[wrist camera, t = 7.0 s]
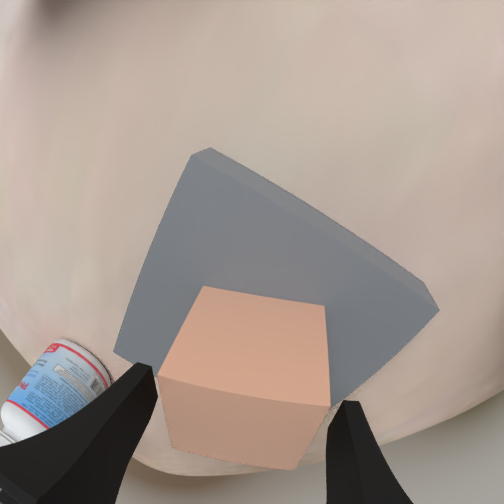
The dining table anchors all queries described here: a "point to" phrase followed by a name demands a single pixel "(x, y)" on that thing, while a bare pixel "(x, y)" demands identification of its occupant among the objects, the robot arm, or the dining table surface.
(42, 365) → the pill bottle
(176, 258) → the gray block
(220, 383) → the terracotta cube
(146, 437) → the dining table surface
